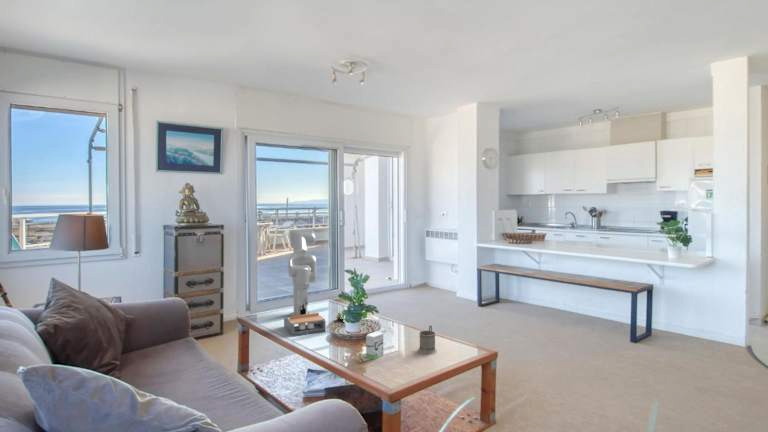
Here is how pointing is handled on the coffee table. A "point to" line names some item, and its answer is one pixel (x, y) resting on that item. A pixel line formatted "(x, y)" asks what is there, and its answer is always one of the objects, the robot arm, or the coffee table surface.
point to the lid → (305, 318)
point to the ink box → (374, 345)
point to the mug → (427, 342)
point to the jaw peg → (301, 327)
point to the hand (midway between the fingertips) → (303, 315)
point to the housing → (310, 328)
